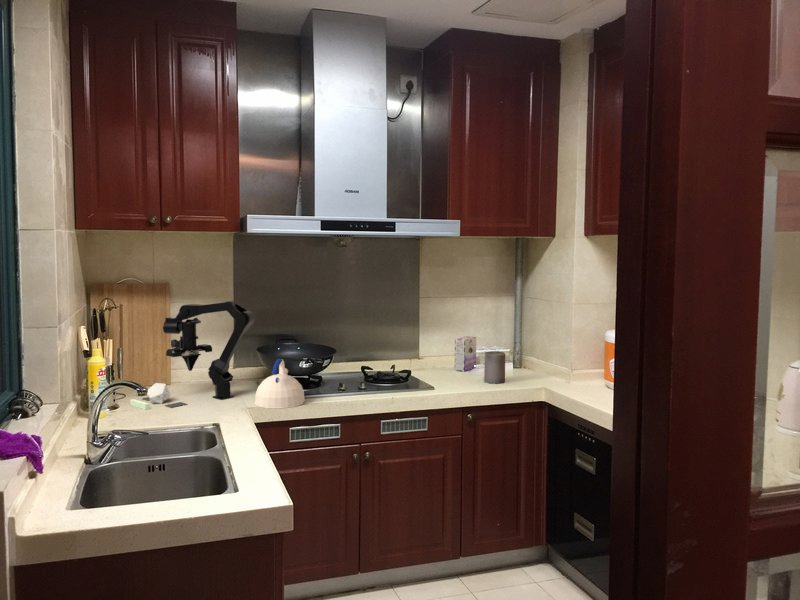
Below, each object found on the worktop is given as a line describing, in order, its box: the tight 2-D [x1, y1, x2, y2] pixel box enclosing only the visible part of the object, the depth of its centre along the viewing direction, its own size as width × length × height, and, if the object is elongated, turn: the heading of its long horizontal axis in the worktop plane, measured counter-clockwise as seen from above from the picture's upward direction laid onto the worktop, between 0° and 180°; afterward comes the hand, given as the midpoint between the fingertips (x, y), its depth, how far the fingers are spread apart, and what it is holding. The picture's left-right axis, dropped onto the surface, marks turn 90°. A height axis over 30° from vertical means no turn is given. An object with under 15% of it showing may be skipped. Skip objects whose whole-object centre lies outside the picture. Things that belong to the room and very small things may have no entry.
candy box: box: [454, 335, 477, 373], centre depth 332 cm, size 14×6×16 cm, turn 147°
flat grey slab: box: [129, 396, 188, 410], centre depth 261 cm, size 23×15×2 cm, turn 50°
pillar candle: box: [483, 350, 506, 385], centre depth 301 cm, size 10×10×15 cm
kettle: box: [254, 358, 306, 410], centre depth 262 cm, size 20×21×18 cm
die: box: [146, 382, 171, 405], centre depth 262 cm, size 8×9×10 cm
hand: (190, 370), depth 272 cm, fingers closed
